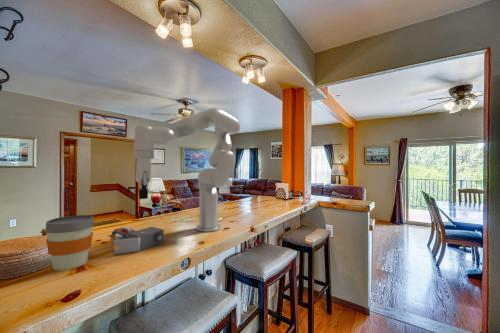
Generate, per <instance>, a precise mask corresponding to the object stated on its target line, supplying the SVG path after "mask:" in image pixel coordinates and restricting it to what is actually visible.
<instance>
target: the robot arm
mask: <svg viewBox="0 0 500 333" xmlns="http://www.w3.org/2000/svg"><path fill="white" fill-rule="evenodd" d="M210 127H211V128H212V127H214V132H215V135H216V138H217V140H216V141H217V142H216V143H215V146H214V149H213V151H212V152H211V154H210V156H209V159H208V164H209V166H210V167H209V168H204V169H202V170H200V172H199V173H198V175H197V182H198V189H199V190H198V191H199V199H198V201H199V206H198V207H199V208H198V209H199V214H198V215H199V216H198V217H199V218H198V219H199V220H198V221H199V223H198V225H196V227H195V229H196V230H197V231H199V232H205V233H206V232H216V231H218V230H220V229H221V227H222V226H221V225H220V224H219V223H220V222H222V221H223V218H222V217H219V213H218V210H219V206H218V204H219V195H218V194H219V193H218V189H220V188H223V187H224V186H226V184H227V182H228V181H229V179H230V177H231V174H232V173H233V170H234V168H235V165H236V161H237V160H236V155H235V154H234V152H232V151H231V150H232V148H233V142H232V138H231V135H235V134H237V133H239V132H240V129H241V123H240V122H239V120H238V119H237V118H235V117H234V116H232V115H230V114H229V113H227V112H226V111H224V110H222V109H219V108H215V107H213V108H209V109H206V110H203V111H201V112H197V113H195V114H192V115H189V116H187V117H184V118H183V117H182V118H181V119H178V120H176V121H174V122H172V123H169V124H167V125H164V126H161V127H160V126H159V127H156V126H149V125H143V124H142V125H136V126H135V127H134V138H133V140H134V142H133V143H134V144H133V146H134V147H133V151H134V152H133V154H134V155H133V159H135V160H136V163H135V164H136V166H135V168H136V169H135V181H136V182H137V183H139V190H138V198H139V200H145V199H146V200H147V199H148V198H149V196H148V195H149V189H148V187H149V186H148V185H149V183H150V182H151V174H152V160H155V146H166V145H170V144H171V143H172V142H174V140H177V139H179V138H183V137H188V136H191V135H194V134H196V133H198V132H201V131H204V130H207V129H209V128H210ZM218 217H219V218H218Z"/></svg>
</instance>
